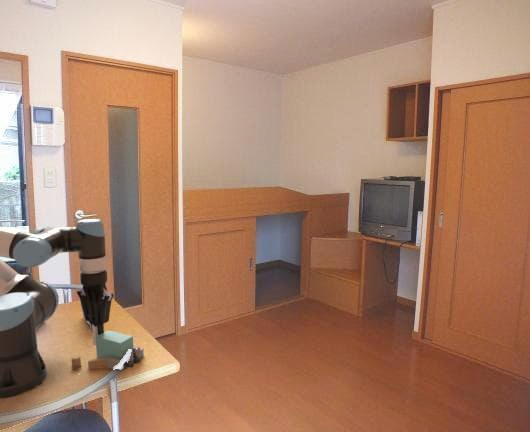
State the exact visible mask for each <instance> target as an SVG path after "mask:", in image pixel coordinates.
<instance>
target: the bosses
mask: <svg viewBox="0 0 530 432" xmlns="http://www.w3.org/2000/svg"><path fill="white" fill-rule="evenodd" d="M135 347H136V348H134V349H133V352H131V356H130V359H129V361H128V363H127V365H125V366H126V368H127V369H130V368H133V367H134V365H135V364H139V363H141V361H142V360H141V358H142V357H141V354H140V348H141V347H140V346H135ZM133 355H134V358H133Z"/></svg>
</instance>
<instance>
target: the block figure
mask: <svg viewBox="0 0 530 432" xmlns="http://www.w3.org/2000/svg"><path fill="white" fill-rule="evenodd" d="M136 347H137V346H134V345H133V349H134V348H136ZM139 348H140V354H141V358H143V357H144V356H145V355H144V348H142V347H139ZM119 362H120V360H119V359H115V358H112V357H111V358H101V359H97V358H93V359H88V361H87V365H88V367H87V368H88V370H93V369H94V370H95V369H104V368H108V369H112V368H113V367H114V366H115V365H117V364H118V363H119ZM81 366H82V359H81V356H80V355H76V356H72V357H71V368H73V369H76V368H77V369H78V368H79V367H81Z"/></svg>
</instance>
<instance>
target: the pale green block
mask: <svg viewBox="0 0 530 432" xmlns="http://www.w3.org/2000/svg"><path fill="white" fill-rule="evenodd" d="M95 346H96V347H95V348H96V359H101V358H111V357H112V358H115V359H119V360H121V359H122V358H123V356H124V355H125V354H126V352H127V351H128V349H132V352H133V346H134V336H133V335H129V334H126V333H120V332H117V331H113V330H106V331H104V333H102V334H100V335H98V336H96V345H95ZM133 359H134V355H133Z"/></svg>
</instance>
